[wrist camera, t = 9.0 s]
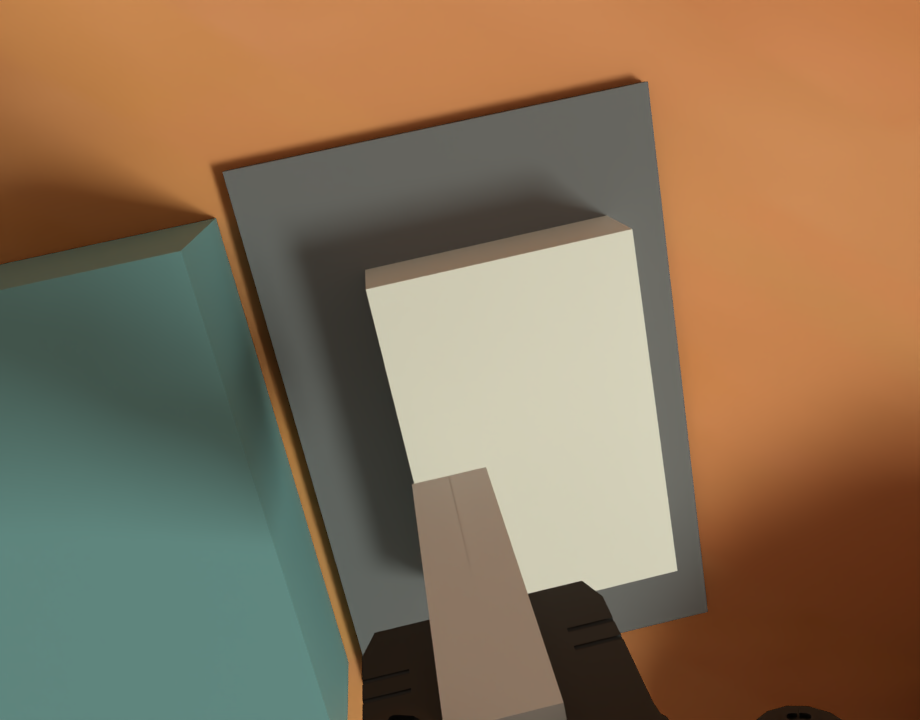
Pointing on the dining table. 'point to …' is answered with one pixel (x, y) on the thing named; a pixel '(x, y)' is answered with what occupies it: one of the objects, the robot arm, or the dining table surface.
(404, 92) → the dining table surface
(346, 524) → the mat
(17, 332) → the teal rectangular block
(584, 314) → the cream rectangular block
